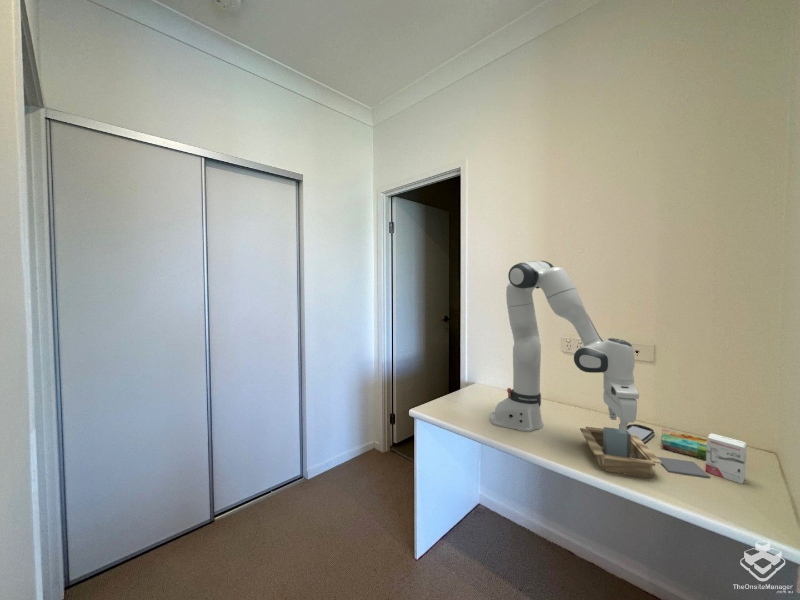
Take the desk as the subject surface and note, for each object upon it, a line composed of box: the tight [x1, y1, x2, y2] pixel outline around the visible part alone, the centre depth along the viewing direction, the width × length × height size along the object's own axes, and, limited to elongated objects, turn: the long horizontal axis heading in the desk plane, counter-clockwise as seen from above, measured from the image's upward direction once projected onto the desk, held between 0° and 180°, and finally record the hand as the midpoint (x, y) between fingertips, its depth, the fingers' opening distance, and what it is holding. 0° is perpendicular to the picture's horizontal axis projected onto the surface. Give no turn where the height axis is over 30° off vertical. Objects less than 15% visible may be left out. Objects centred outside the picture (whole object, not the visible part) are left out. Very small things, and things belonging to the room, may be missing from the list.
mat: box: [656, 456, 711, 479], centre depth 106 cm, size 11×9×1 cm
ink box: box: [705, 433, 747, 484], centre depth 102 cm, size 9×5×12 cm, turn 38°
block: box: [602, 426, 631, 458], centre depth 112 cm, size 7×4×10 cm, turn 73°
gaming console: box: [627, 423, 655, 444], centre depth 129 cm, size 19×9×2 cm, turn 126°
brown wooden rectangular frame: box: [579, 426, 662, 479], centre depth 112 cm, size 24×19×6 cm
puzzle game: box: [660, 428, 707, 460], centre depth 116 cm, size 12×5×20 cm
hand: (617, 424), depth 111 cm, fingers open, 8 cm apart
